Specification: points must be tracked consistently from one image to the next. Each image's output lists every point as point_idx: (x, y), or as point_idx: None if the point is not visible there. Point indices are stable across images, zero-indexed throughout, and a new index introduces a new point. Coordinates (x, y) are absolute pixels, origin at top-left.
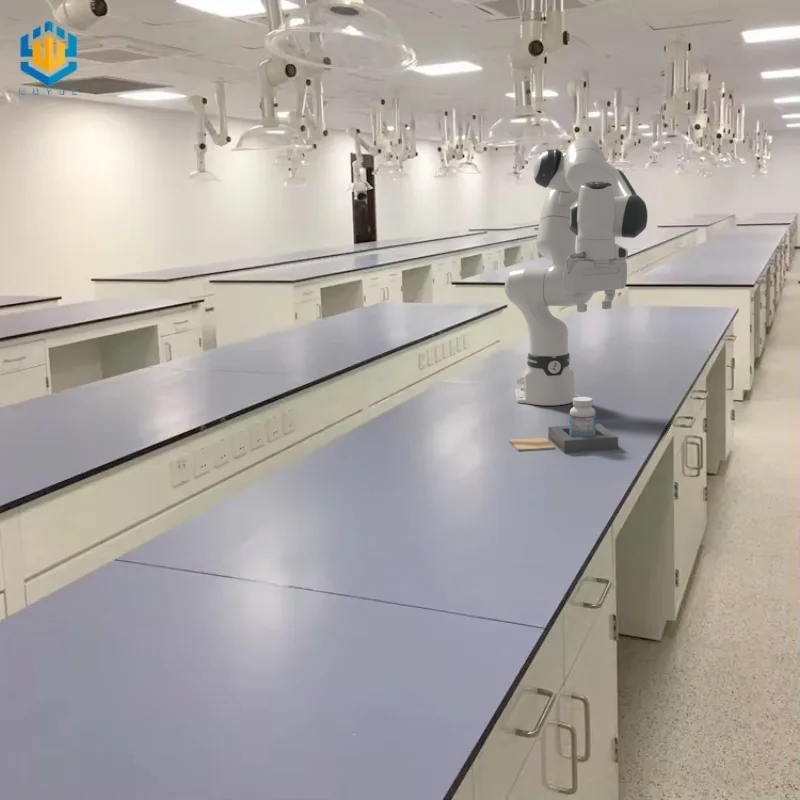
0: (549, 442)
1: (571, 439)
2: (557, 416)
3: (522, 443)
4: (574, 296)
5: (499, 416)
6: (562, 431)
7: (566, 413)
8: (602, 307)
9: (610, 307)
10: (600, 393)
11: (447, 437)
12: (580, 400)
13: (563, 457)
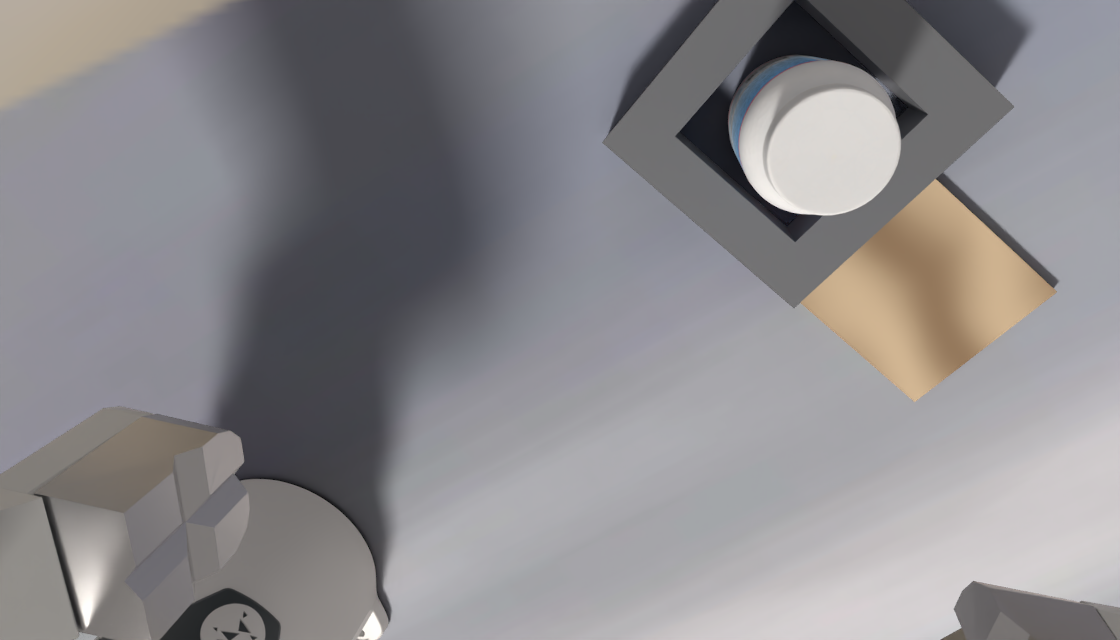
0: (872, 240)
1: (972, 89)
2: (453, 427)
3: (948, 326)
4: None
5: (590, 592)
6: None
7: (391, 421)
8: (237, 541)
9: (135, 415)
10: None
11: None
12: (885, 141)
13: (1063, 61)
